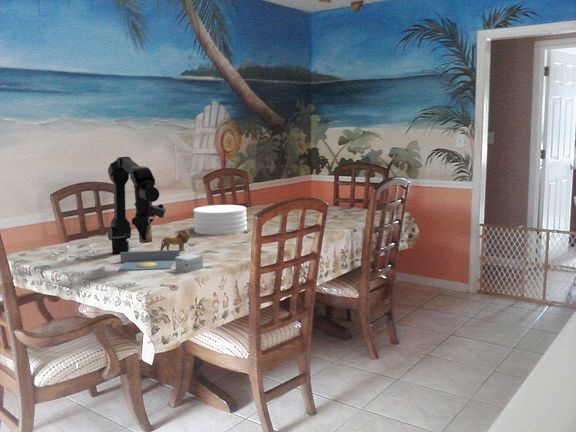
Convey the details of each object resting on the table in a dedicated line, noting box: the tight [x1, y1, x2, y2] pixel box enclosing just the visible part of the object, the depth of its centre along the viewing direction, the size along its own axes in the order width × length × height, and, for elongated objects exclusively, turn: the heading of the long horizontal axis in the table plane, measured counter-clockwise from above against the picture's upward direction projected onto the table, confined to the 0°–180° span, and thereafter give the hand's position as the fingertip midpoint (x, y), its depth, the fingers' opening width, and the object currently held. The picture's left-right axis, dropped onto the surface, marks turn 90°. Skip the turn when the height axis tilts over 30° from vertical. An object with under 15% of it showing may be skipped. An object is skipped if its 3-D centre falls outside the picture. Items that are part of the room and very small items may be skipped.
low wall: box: [119, 249, 181, 263], centre depth 232 cm, size 24×1×4 cm, turn 95°
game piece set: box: [49, 244, 98, 261], centre depth 245 cm, size 19×20×4 cm
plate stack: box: [192, 204, 248, 236], centre depth 297 cm, size 28×28×12 cm
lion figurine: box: [159, 229, 191, 252], centre depth 248 cm, size 15×5×9 cm, turn 120°
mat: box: [117, 260, 175, 272], centre depth 223 cm, size 20×12×1 cm, turn 95°
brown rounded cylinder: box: [138, 225, 153, 244], centre depth 221 cm, size 5×5×6 cm
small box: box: [174, 253, 204, 273], centre depth 217 cm, size 8×8×5 cm
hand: (145, 238), depth 221 cm, fingers closed on brown rounded cylinder, 5 cm apart
